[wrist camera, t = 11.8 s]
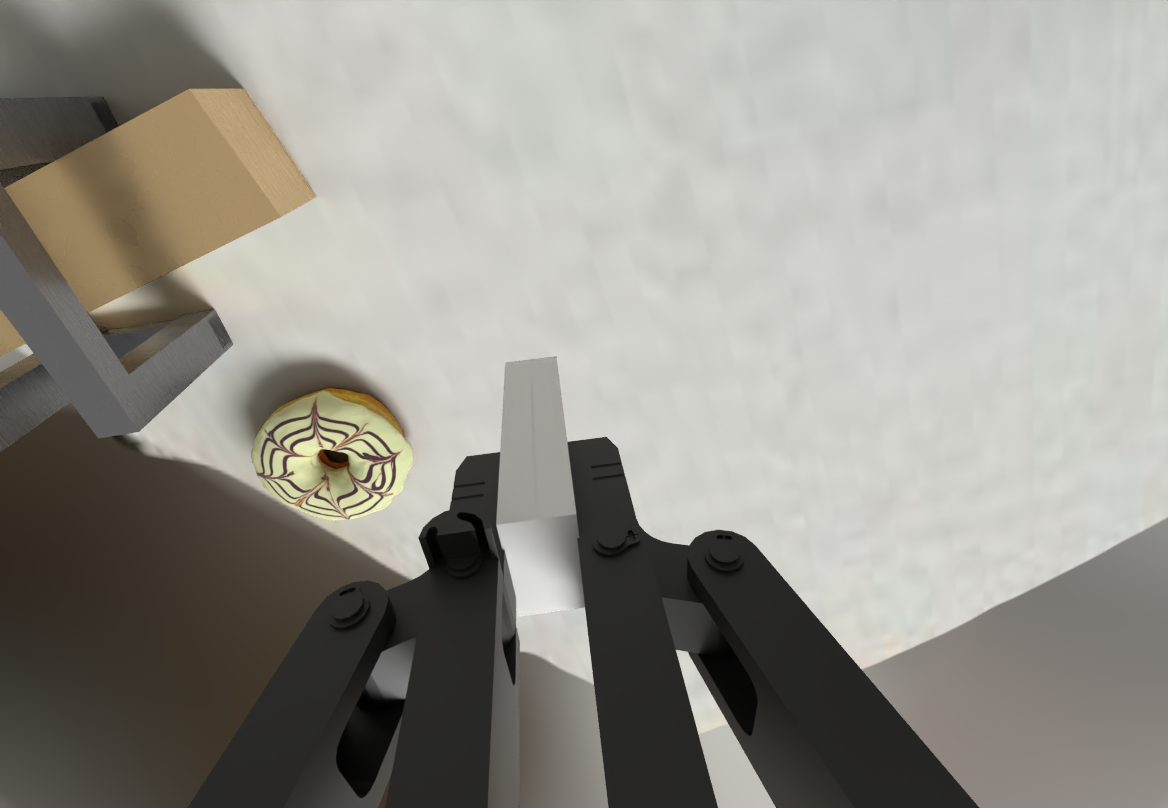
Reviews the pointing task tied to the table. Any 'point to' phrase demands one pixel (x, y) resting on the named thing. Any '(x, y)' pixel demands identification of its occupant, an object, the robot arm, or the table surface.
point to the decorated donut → (337, 424)
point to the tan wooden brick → (157, 195)
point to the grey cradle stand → (80, 305)
